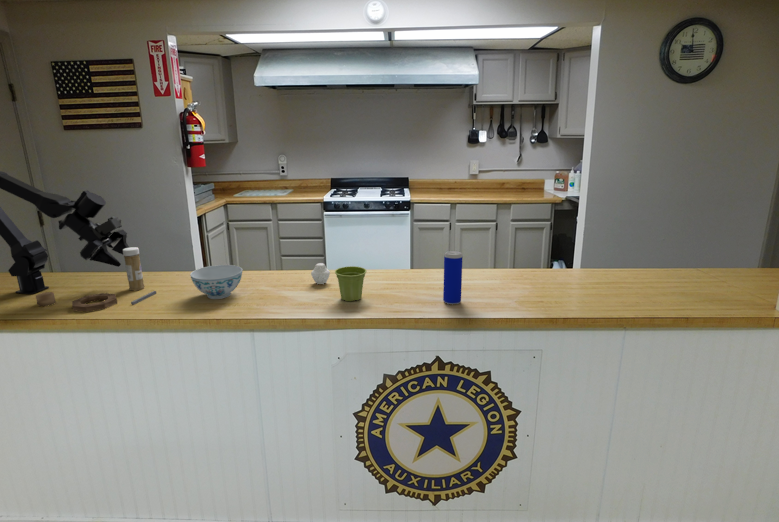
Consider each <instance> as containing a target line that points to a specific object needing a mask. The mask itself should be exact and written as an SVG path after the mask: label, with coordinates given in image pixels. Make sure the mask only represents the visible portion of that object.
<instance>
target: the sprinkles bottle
mask: <svg viewBox="0 0 779 522" xmlns="http://www.w3.org/2000/svg"><path fill="white" fill-rule="evenodd" d="M122 256H123V258H124V263H125V271H126V277H127V281H128V286H129V288H128V289H129V290H130V291H133V290H135V291H140V289H141V290H143V289H144V288H145V287H146V286H145V283H144V276H143V269H142V264H141V259H140V258H141V257H140V249H139V247H137V246H136V247H135V246H132V247H130V246H129V248H125V249H123V255H122Z"/></svg>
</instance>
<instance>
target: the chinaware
mask: <svg viewBox="0 0 779 522" xmlns="http://www.w3.org/2000/svg"><path fill="white" fill-rule="evenodd" d="M189 276H190V279H191V281H192V282H193V284H194V286H195V287H196V289H197V290H198V291H200V292H201V293H202V294H204V295H207V298H208V299H211V300H221V299H225V298H228V297H230V296H231V294H232V292H233V291H234V290H236V288H238V285H239V284H240V282H241V280H242V276H243V268H242V267H240V265H239V266H238V265H234V264H217V265H209V266H203V267H200V268H197V269H195V270H193V271H191V272H190V274H189Z"/></svg>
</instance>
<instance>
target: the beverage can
mask: <svg viewBox="0 0 779 522" xmlns="http://www.w3.org/2000/svg"><path fill="white" fill-rule="evenodd" d="M462 279H463V253H462V252H461V251H458V250H447V251H446V252H445V253H444V256H443V293H442V294H443V296H442V299H443V300H442V301H443V302H444V303H445V304H446V303H447V304H446V305H449V304H452V305H451V306H454V305H453V304H457V305H458V304H460V303H461V302H462V284H463V283H462Z"/></svg>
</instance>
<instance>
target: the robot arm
mask: <svg viewBox="0 0 779 522" xmlns="http://www.w3.org/2000/svg"><path fill="white" fill-rule="evenodd" d="M0 189H1V190H3V191H5V192H7V193H9V194H11V195H14V196H16V197H18V198H19V199H20V198H21V199H22V200H24V201H26V202H28V203H30V204H32V205H34V206H35V207H36V208H37V210H38V211H39V212H40V213H43V214H44V215H46V216H47V217H49V218H52V219H56V218H60V217H64V216H65V217H64V218H63V219H61V220H58V229H59V230H60V231H61V230H64V229H70V230H71V231H72V232H74V233H75V234H76V235H77V236H79V238H77V239H78V240H79V241H80V242H82V241H85V242H86V244H85V245H84V246H83V248H82V249H81V250H80V252H79V253H80V257H81V258H82V259H83V260H85V261H88V260H89V262H91V261H93V262H99V263H103V264H106V265H111V266H113V267H119V268H120V266H121V265H122V263H120V261H119V260H118V259H117V258H116V257H115V256H113V254H111V253H110V252H109V251H108V248H111V251H114V252H115V253H118V254H120V255H122V256H124V255H123V249H125V248H130V246H129V245H128V243H127V238H128V236H127V235H128V232H126V231H125V230H124V229H120V228H122V220H121V219H120V218H119V217H117V216H115V215H113V216H110V217H108V218H107V221H105V222H102V223H100V222H96V223H95V222H94V221H92V220H91V219H94V218H95V217H96V216H97V215H99V213H100V211H101V210H102V209H104V208H105V205H106V204H107V202H106V200H105V198H104V197H102V196H101V195H98V194H96V193H93V192H90V191H89V190H87V189H86V190H82V192H81V194H80V195H79V197H78V198H77V199H76V200H71V199H70V198H68V197H67V196H63V195H60V194H56V193H51V192H46V191H43V190H41V189H38V188H37V187H35V186H32V185H30V184H28V183H27V182H24V181H22V180H20V179H18V178H15V177H13V176H11V175H9V174H8V173H7V172H5V171H0ZM90 218H91V219H90ZM116 229H117V230H116ZM0 237H1V238H2V239H3V241H5V243H6V244H7V245H8V246H9V248H10V254H11V255H10V256H11V258H12V260H13V262H14V263H13V264H12V265H11V266H10V267H9V268H8V270H7V271H8V273H9V274H10V276H11V277H16V279H17V284H18V289H19V290H15V291H14V292H15V293H16V294H22V295H23V294H26V295H33V294H36V293H39V292H41V291H44V290H47V289H49V288H50V286H48V285H47V286H46V285H45V281H44V277H43V275H42V271H41V270H44V269H45V267H46V263H47V262H48V257H49V255H48V253H47V249H46V248H45V247H44V246H43V245H42V243H41V242H40V241H39V240H32V241H31V240H30V239H28V238H27V237H26V236H25V234H24V233H23V232H22V231H21V230H20V228H19V227H17V225H16V224H15V223H14V221H12V219H11V218H10V217H9V215H8V214H7V213H6V211H4V210H3V208H2V206H0ZM15 293H14V294H15Z"/></svg>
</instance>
